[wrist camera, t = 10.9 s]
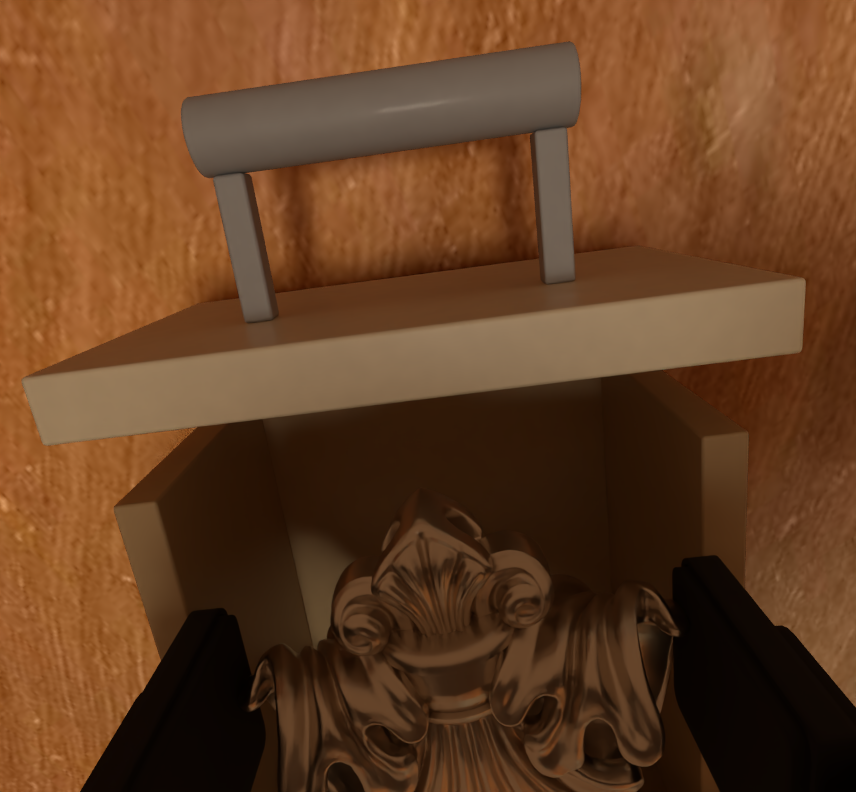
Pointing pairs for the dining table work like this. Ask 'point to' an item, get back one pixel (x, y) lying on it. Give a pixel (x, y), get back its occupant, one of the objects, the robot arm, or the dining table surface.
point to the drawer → (423, 382)
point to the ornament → (471, 670)
